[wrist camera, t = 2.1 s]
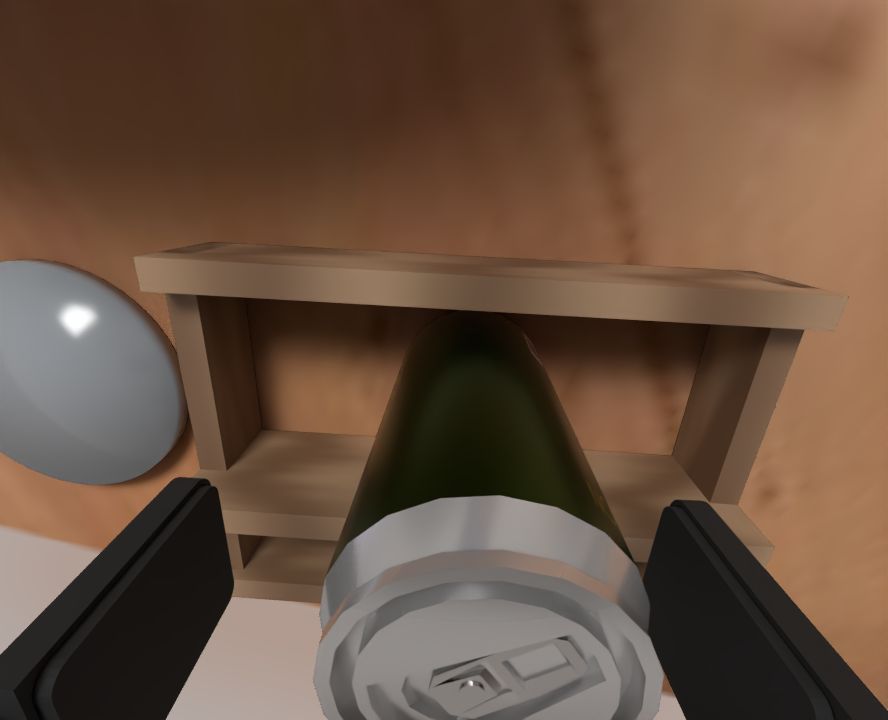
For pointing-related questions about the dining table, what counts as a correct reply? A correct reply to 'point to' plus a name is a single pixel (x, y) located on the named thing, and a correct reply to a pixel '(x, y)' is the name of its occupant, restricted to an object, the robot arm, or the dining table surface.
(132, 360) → the grey glossy dome
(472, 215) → the dining table surface
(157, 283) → the rack
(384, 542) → the beer can
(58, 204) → the dining table surface
